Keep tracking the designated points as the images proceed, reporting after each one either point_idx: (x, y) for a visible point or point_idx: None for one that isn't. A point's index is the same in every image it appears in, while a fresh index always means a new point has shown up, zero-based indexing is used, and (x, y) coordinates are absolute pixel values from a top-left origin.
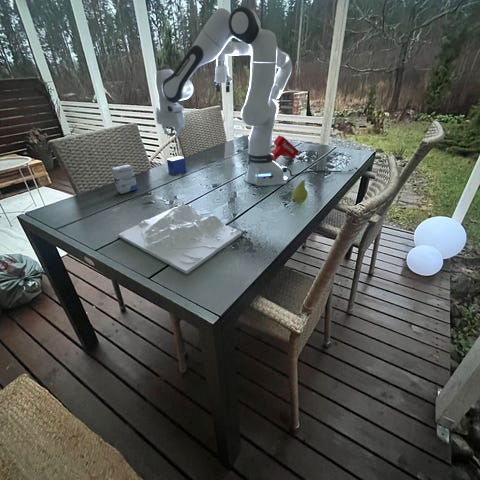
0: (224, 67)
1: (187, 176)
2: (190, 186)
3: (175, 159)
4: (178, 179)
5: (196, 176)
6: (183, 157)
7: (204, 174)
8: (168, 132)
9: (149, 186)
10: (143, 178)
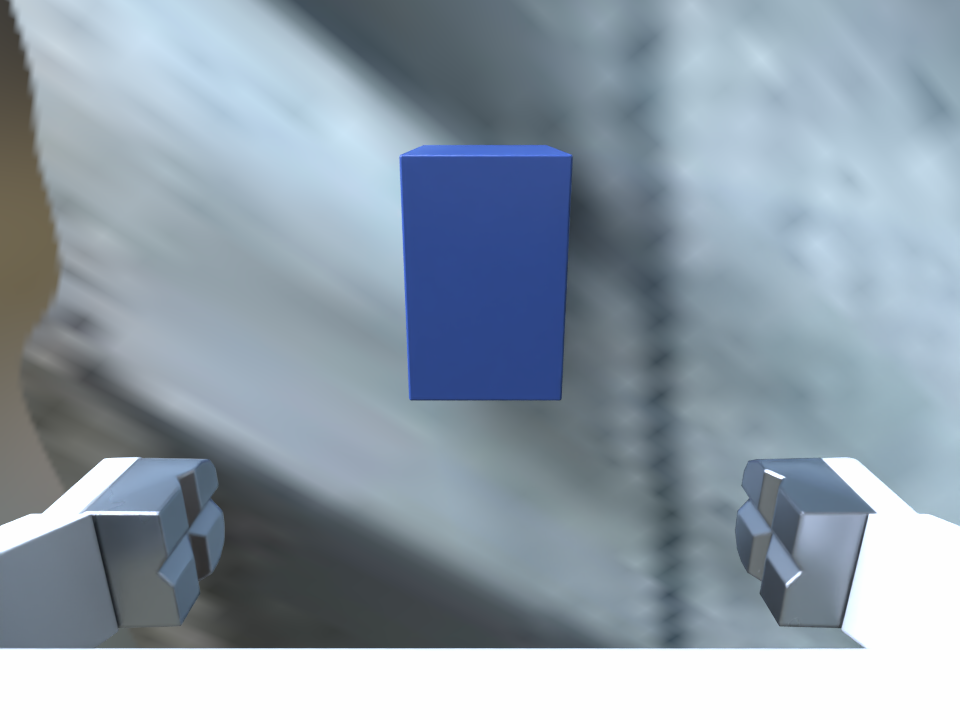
0: None
1: (690, 251)
2: (930, 424)
3: (531, 325)
4: (676, 379)
5: (787, 176)
6: (546, 160)
7: (831, 46)
8: (196, 474)
9: (590, 641)
10: (360, 575)
